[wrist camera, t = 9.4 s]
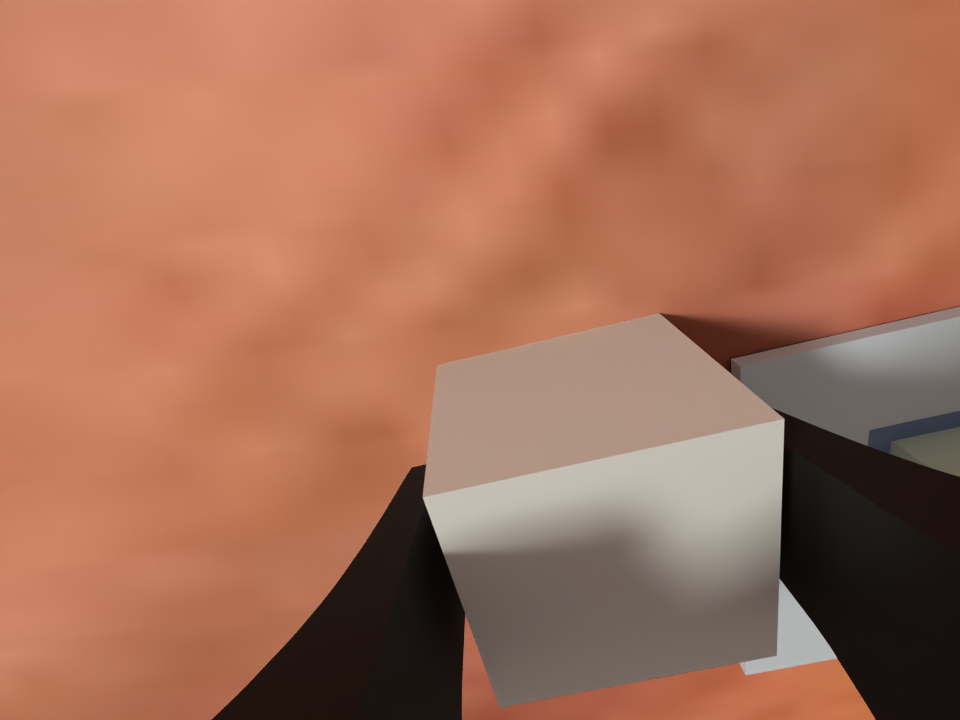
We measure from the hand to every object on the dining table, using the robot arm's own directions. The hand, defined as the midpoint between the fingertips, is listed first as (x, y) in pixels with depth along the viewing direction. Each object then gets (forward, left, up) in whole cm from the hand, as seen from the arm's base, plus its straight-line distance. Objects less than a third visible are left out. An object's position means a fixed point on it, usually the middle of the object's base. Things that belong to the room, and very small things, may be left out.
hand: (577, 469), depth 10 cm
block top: (0, 0, -2) cm, 2 cm away
